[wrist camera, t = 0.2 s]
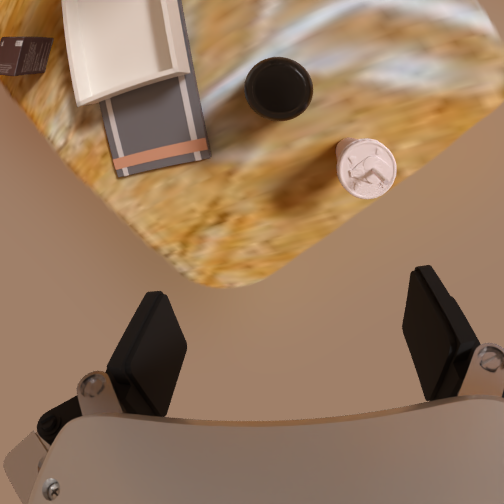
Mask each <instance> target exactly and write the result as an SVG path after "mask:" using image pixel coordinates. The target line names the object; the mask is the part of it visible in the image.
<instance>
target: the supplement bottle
mask: <svg viewBox="0 0 504 504" xmlns="http://www.w3.org/2000/svg"><path fill="white" fill-rule="evenodd" d="M244 91H245V96H246V99H247V102H248V104H249V105H250V107H251V108H252V109H253V110H254V111H255V112H256V113H257V114H258V115H260V116H262V117H264V118H266V119H269V120H273V121H287V120H291V119H293V118H295V117H297V116H299V115H300V114H302V113H303V112H304V111H305V110H306V109H307V107H308V106H309V104H310V102H311V100H312V96H313V84H312V80H311V78H310V75H309V74H308V72H307V71H306V70H305V68H304V67H303V66H301V65H300V64H299V63H297V62H296V61H294V60H291V59H288V58H284V57H272V58H268V59H265V60H263V61H261V62H259V63H257V64H256V65H255V66H254V67H253V68H252V69H251V70H250V72H249V73H248V75H247V77H246V80H245V86H244Z"/></svg>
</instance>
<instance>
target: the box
mask: <svg viewBox="0 0 504 504" xmlns="http://www.w3.org/2000/svg"><path fill="white" fill-rule="evenodd" d="M52 43H53V38H46V37H2V38H1V41H0V75H8V76H18V75H27V74H37V73H44V72H45V69H46V65H47V60H48V56H49V53H50V49H51V46H52Z"/></svg>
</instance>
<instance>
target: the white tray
mask: <svg viewBox="0 0 504 504" xmlns="http://www.w3.org/2000/svg"><path fill="white" fill-rule="evenodd" d="M62 12H63V22H64V31H65V39H66V47H67V54H68V60H69V67H70V73H71V78H72V84H73V89H74V94H75V99H76V104H77V107H80V106H85V105H90V104H95V103H98V102H101V101H103V100H106V99H108V98H111V97H114V96H117V95H119V94H122V93H125V92H128V91H131V90H134V89H137V88H140V87H143V86H146V85H149V84H153V83H156V82H159V81H163V80H166V79H170V78H173V77H177V76H181V75H185V74H189V73H190V68H189V63H188V58H187V52H186V47H185V42H184V36H183V31H182V25H181V20H180V14H179V8H178V3H177V0H62Z"/></svg>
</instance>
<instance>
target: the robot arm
mask: <svg viewBox="0 0 504 504" xmlns="http://www.w3.org/2000/svg"><path fill="white" fill-rule="evenodd" d="M402 329H403V334H404V336H405V339H406V342H407V345H408V348H409V351H410V353H411V356H412V359H413V362H414V365H415V368H416V371H417V374H418V377H419V380H420V383H421V387H422V390H423V393H424V396H425V399H426V401H429V402H424V403H420V404H415V405H409V406H404V407H398V408H392V409H387V410H381V411H375V412H368V413H361V414H354V415H345V416H336V417H326V418H315V419H303V420H302V419H301V420H282V421H212V420H193V419H181V418H169V417H165V416H166V414H167V411H168V408H169V405H170V402H171V398H172V395H173V392H174V389H175V386H176V382H177V379H178V376H179V373H180V370H181V367H182V364H183V360H184V357H185V354H186V351H187V343H186V340H185V338H184V335H183V333H182V331H181V328H180V326H179V324H178V321H177V319H176V316H175V314H174V311H173V309H172V306H171V304H170V301H169V299H168V297H167V295H165V294H163V293H162V292H161V291H154V292H147V293H146V295H145V296H144V298H143V300H142V301H141V303H140V305H139V307H138V309H137V310H136V312H135V314H134V316H133V318H132V319H131V321H130V323H129V325H128V327H127V329H126V331H125V332H124V334H123V336H122V338H121V340H120V342H119V343H118V346H117V347H116V349H115V351H114V353H113V355H112V357H111V359H110V361H109V363H108V365H107V370H106V372H103V371H93V372H91V373H88V374H87V375H85V376H84V377H83V378H82V379H81V380H80V382H79V383H78V386H77V396H75V397H73V398H71V399H70V400H68V401H66V402H64V403H62V404H61V405H59V406H57V407H55V408H53V409H51V410H49V411H48V412H46V413H45V414H43V416H42V417H41V418H40V419H39V421H38V424H37V432H36V433H35V432H34V431H32V432H31V433H30V434H29V435H28V436H27V437H26V438H25V439H24V440H22V441H21V442H20V443H19V444H18V445H17V446H16V447H15V448H14V449H13V450H12V451H11V452H9V453H8V455H7V456H6V457H5V460H4V469H5V472H6V474H7V476H8V478H9V480H10V482H11V484H12V486H13V488H14V489H15V491H16V493H17V494H18V496H19V498H20V500H21V502H22V503H23V504H504V349H503V348H502V347H501V346H499V345H497V344H493V343H484V344H482V345H481V344H480V342H479V340H478V339H477V337H476V335H475V333H474V331H473V330H472V328H471V326H470V324H469V322H468V321H467V319H466V317H465V315H464V314H463V312H462V310H461V309H460V307H459V305H458V304H457V302H456V301H455V299H454V298H453V297H451V296H450V295H449V293H448V291H447V290H446V288H445V287H444V285H443V283H442V282H441V280H440V279H439V277H438V276H437V274H436V273H435V271H434V270H433V268H432V267H431V266H430V265H426V266H418V267H416V268H415V271H412V272H411V274H410V282H409V288H408V296H407V301H406V307H405V313H404V319H403V325H402Z"/></svg>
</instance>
